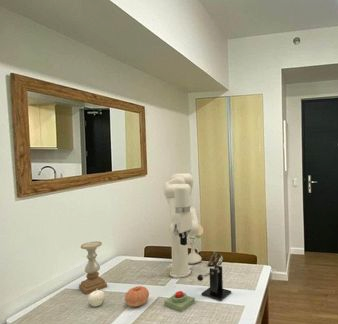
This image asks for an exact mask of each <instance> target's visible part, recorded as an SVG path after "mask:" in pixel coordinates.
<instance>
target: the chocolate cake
mask: <svg viewBox="0 0 338 324" xmlns="http://www.w3.org/2000/svg"><path fill="white" fill-rule="evenodd" d="M223 259H224V258H223V255H222V254H219V253H217V252H216V250H214V251H213V253H212V254H211V257H210V259H209V261H208V263H207V267H210V266H213V267H214V266H215V265H217V266H219V265H222V264H221V263H223Z"/></svg>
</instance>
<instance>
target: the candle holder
mask: <svg viewBox="0 0 338 324" xmlns="http://www.w3.org/2000/svg"><path fill="white" fill-rule="evenodd" d="M102 245H103V242H102V241H98V240H96V241H89V242H88V241H87V242H85V243H82V244H81V245H80V248H81V249H82V250H86V251H87V255H86V256H85V257H86V259H87V260H88V262H87V263H86V265H85V267H84V273H86V275H85V277H86V279H84V280H82V281H81V282H80V283H79V285H78V289H79V290H80V291H81V292H82V293H83V294H84V295H89V294H91V293H92V292H93V291H96V289H97V288H98V289H97V290H102V289H105V288H107V287H108V283H107V282H106V281H105V280H104V279H103V277H101V276H100V273H99V270H100V268H101V265H100V263H98V261H97V260H96V259H97V256H98V254H97V252H96V250H98V248H100V247H101V246H102Z"/></svg>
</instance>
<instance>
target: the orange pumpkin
mask: <svg viewBox="0 0 338 324" xmlns="http://www.w3.org/2000/svg"><path fill="white" fill-rule="evenodd" d="M149 296H150V292H149V289H148V288H147V287H145V286H143V285H140V286H134V287H132V288H129V290H128V291H127V292H126V293H125V296H124V302H125V303H126V305H128V306H129V307H133V308H134V307H139V306H142V305H144V304H145V303H147V301H148V299H149Z"/></svg>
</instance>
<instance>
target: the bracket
mask: <svg viewBox="0 0 338 324" xmlns="http://www.w3.org/2000/svg"><path fill="white" fill-rule="evenodd" d="M217 267H218V268H219V270H220V272H219V273H218V270H217V269H215V268H217ZM209 273H210V275H209V287H208V288H207V289H205V290H204V291H202V292H201V296H203V297H205V298H209V299H213V300H216V301H219V302H222V301H223V300H225V299H226V298H227V297H229V295H231V294H232V290H229V289H226V288H224V286H223V284H224V283H223V266H221V265H215V266H213V267H210V268H209Z"/></svg>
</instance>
